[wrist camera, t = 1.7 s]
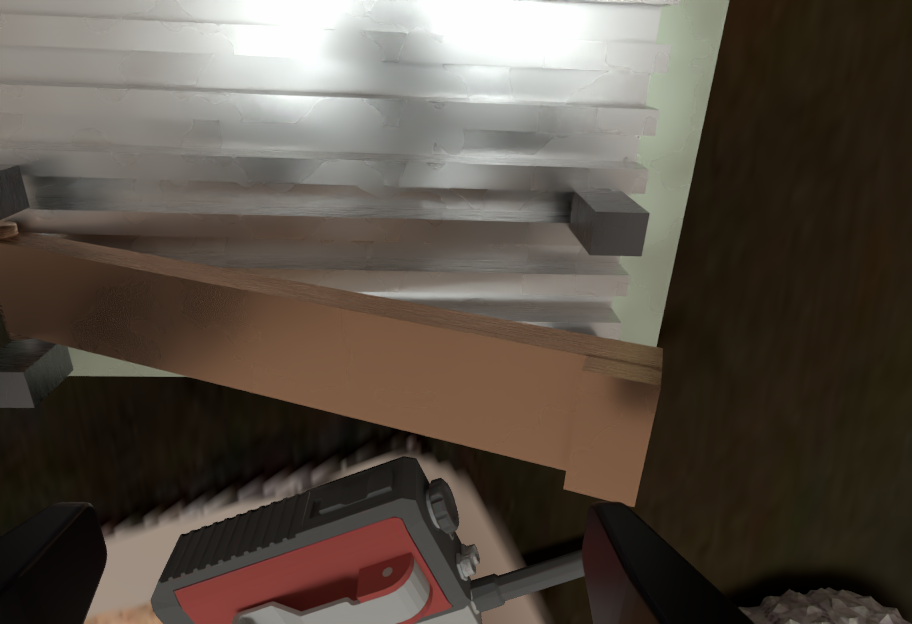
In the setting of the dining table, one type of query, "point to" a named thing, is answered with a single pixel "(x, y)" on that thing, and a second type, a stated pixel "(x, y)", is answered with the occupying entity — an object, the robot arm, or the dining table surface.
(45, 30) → the heat sink board
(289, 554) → the walkie-talkie
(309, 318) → the strap
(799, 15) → the dining table surface
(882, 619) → the sea urchin shell
